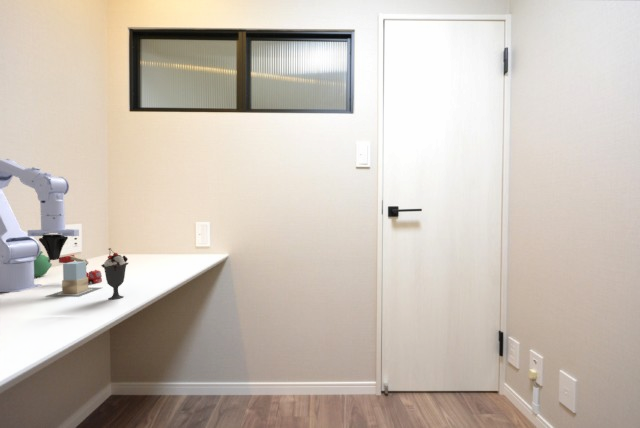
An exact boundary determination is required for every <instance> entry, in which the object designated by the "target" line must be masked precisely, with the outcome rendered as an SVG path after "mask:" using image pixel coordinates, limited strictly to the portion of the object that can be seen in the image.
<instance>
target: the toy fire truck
mask: <svg viewBox="0 0 640 428" xmlns="http://www.w3.org/2000/svg"><path fill="white" fill-rule="evenodd" d="M73 261H86V267H87V265H89V261H88V260H87V259H85V258H84V259H83V258H80V257H77V256H75V254H70V255H65V256H60V257H59V259H58V263H59V264H65V263H69V262H73ZM86 277H88V285H89V284H91V285H93V284H94V285H95V284H96V285H97V284H100V283H102V282H103V278H102V277H103V275H102V272H101V270H97V269H95V270H90V271H89V272H88V271H86Z"/></svg>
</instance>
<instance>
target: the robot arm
mask: <svg viewBox="0 0 640 428" xmlns="http://www.w3.org/2000/svg"><path fill="white" fill-rule="evenodd" d="M14 177H15V178H18V179H19V181H20V182H21V183H22V184H23V185H25V186H28V187H29V188H31V189H34V192H35V193H36V194H37V199H38V201H39V203H40V204H39V205H40V208H39V209H40V229H28V230H27V231H25V230H22V229H21V226H20V223H19V222H18V220H17V218H16V215H15V213H14V211H13V209H12V208H11V207H12V206H11V205H10V203H9V201H8V199H7V197H6V195H5V193H4V191H3V189H4V188H6V187H8V186H9V185H10V183H11V181H12V180H13V178H14ZM69 188H70V183H69V181H68V179H67V178H65V177H64V176H57V177H56V176H53V175H52V173H50V172H44V171H43V170H41V168H39V167H36V166H32V167H24V166H23V165H20V164H18V163H17V162H16V161H15V160H12V159H9V158H6V159H5V158H0V293H11V292H13V293H15V292H24V291H26V290H31V289H34V288H38V287H42V286H43V284H39V283H38V284H37V283H35V277H34V260H36V257H38V256H39V254H40V251H42V247H41V245H42V246H43V247H44V249H45V251H46V254H47V257H49V260H50V261H55V260H59V258H60V257H61V252H62V250H63V247H64V245H65V244H66V242H67V241H68V239H69V237H78V236H80V230H79V229H71V228H70V229H67V228H66V217H65V216H66V211H65V210H66V209H65V208H66V207H65V195H67V193H68V192H69ZM35 237H39V238H38V240H37V239H36V238H35ZM40 243H41V244H40Z"/></svg>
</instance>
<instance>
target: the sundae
mask: <svg viewBox="0 0 640 428" xmlns="http://www.w3.org/2000/svg"><path fill="white" fill-rule="evenodd" d="M108 250H109V251H110V252H111V251H112V253H113V254H112V255H111V253H109V255H108V256H107V259H106V260H105V261H104V263H102V264H101V265H100V266H101V267H102V268H104V274H105V279H106V284H107V285H109V286H110V287H111V288H112V289H113V291H112V292H113V293H112V295H111V296H110V297H108V298H107V300H108V301H114V300H121V299H123V298H124V295H121V294H120V293H119V287H120V286H121V285H122V284H123V283H124V281H125V276H126V268H127V265H129V262H127V261H128V260H129V259H128V257H127V256H126V255H121V254H118V252H114V251H113V250H112V247H111V248H108Z"/></svg>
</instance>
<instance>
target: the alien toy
mask: <svg viewBox="0 0 640 428" xmlns="http://www.w3.org/2000/svg"><path fill="white" fill-rule="evenodd" d="M43 253H44V252H43V250H41V251H40V254H39V256H38V257H36V260H34V278H39V277H42V276H45V275H46V274H47V273H48V271H49V270H50V268H51V267H52V265H53V264H52V263H51V260H49V257H48V256H47V255H45V254H43Z"/></svg>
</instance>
